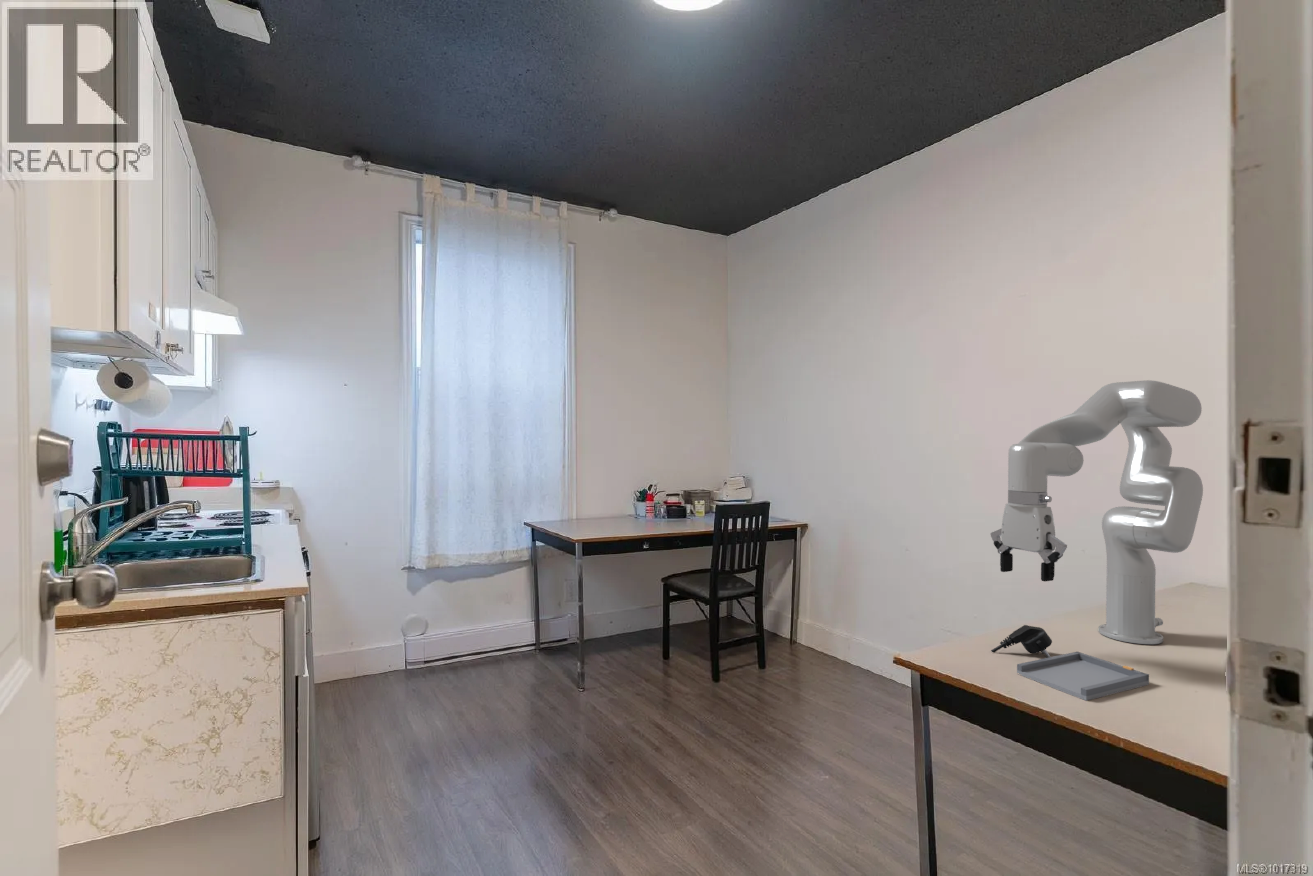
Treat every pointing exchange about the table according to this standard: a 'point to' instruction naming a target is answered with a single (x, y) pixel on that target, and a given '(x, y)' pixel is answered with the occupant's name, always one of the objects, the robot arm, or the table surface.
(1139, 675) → the dock
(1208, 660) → the table surface
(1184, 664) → the table surface
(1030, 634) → the power plug
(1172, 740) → the table surface
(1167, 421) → the robot arm
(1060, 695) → the table surface
